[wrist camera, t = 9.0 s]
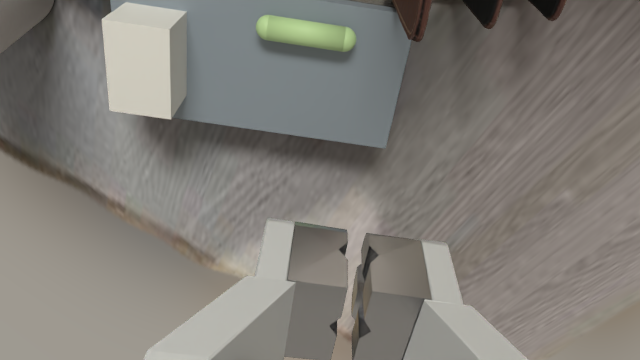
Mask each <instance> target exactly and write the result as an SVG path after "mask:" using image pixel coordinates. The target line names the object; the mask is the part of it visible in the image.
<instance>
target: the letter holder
mask: <svg viewBox="0 0 640 360" xmlns="http://www.w3.org/2000/svg"><path fill="white" fill-rule="evenodd" d="M392 1H393V4H394V7H395V8H396V11H397V14H398V17H399V19H400V22H401V24H402V26H403V28H404V31H405V33H406V35H407V38H408V39H409V40H414V41H416V42H419V41H421V40H422V38H423V36H424V33H425V29H426V25H427V21H428V17H429V12H430V8H431V3H432V0H392ZM528 1H529V2H530V3H532V4H533V5H534V6H535V7H536V8H537V9H538V10H539V11H540V12H541V13H542V14H543V15H544V16H545V17H546V18H547V19H548V20H550V21H554V20H556V19H557V18H558V17H559V16H560V14H561V12H562V10H563V8H564V5H565V3H566V1H567V0H528ZM463 2H464V3H465V4H466V6H467V7H468V8H469V9H470V11H471V12H472V13H473V14H474V15H475V17H476V18H477V19H478V20H479V21H480V23H481V24H482V25H483V26H484V27H485V28H487V29H491V28H493V26H494V25H495V23H496V21H497V19H498V16H499V12H500V9H501V6H502V2H503V0H463Z"/></svg>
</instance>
